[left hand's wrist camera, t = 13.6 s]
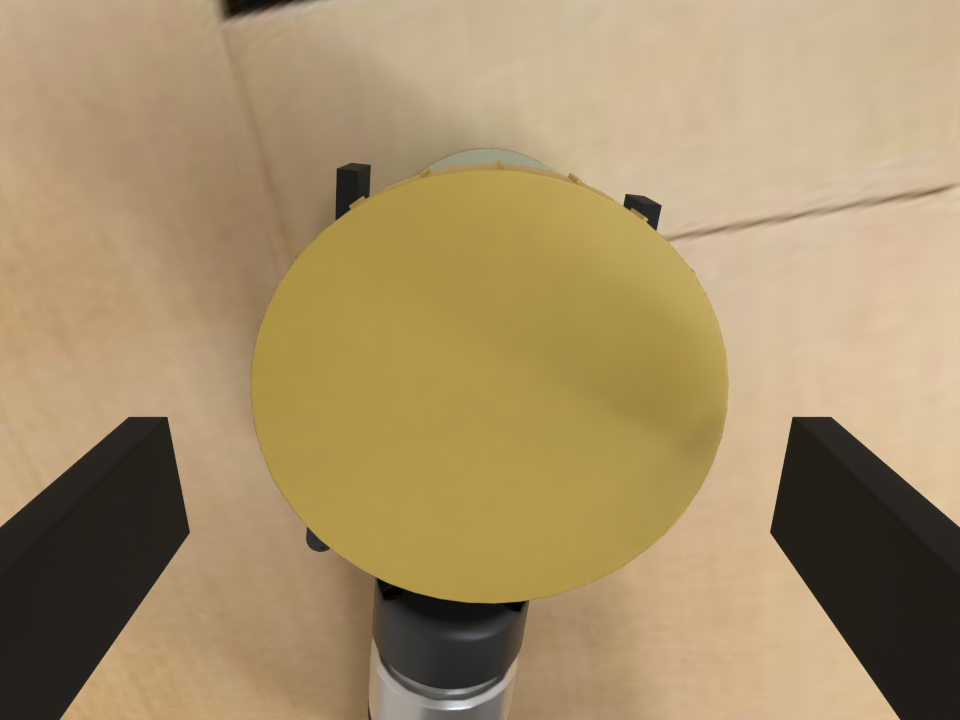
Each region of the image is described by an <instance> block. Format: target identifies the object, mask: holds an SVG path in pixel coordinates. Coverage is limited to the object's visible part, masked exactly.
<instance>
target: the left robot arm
mask: <svg viewBox="0 0 960 720" xmlns="http://www.w3.org/2000/svg"><path fill="white" fill-rule="evenodd" d="M189 533H190V531H189V526H188V520H187V515H186V510H185V505H184V500H183V495H182V490H181V485H180V479H179V474H178V469H177V464H176V459H175V454H174V449H173V444H172V438H171V433H170V428H169V423H168V418H167V417H128V418H127V419H126V420H125V421H124V422H123V423H121V424H120V425H119V426H118V427H117V428H116V429H114V430H113V431H112V432H111V433H110V434H109V435H107V436H106V437H105V438H104V439H103V440H102V441H100V442H99V443H98V444H97V445H96V446H95V447H93V448H92V449H91V450H90V451H89V452H88V453H86V454H85V455H84V456H83V457H82V458H81V459H79V460H78V461H77V462H76V463H75V464H74V465H72V466H71V467H70V468H69V469H68V470H67V471H65V472H64V473H63V474H62V475H61V476H60V477H58V478H57V479H56V480H55V481H54V482H53V483H51V484H50V485H49V486H48V487H47V488H46V489H45V490H43V491H42V492H41V493H40V494H39V495H38V496H36V497H35V498H34V499H33V500H32V501H31V502H29V503H28V504H27V505H26V506H25V507H24V508H22V509H21V510H20V511H19V512H18V513H17V514H15V515H14V516H13V517H12V518H11V519H10V520H8V521H7V522H6V523H5V524H4V525H3V526H1V527H0V720H60V719H61V717H62V716H63V714H64V713H65V711H66V710H67V709H68V707H69V706H70V704H71V703H72V701H73V700H74V698H75V697H76V696H77V694H78V693H79V691H80V690H81V688H82V687H83V686H84V684H85V683H86V681H87V680H88V678H89V677H90V675H91V674H92V673H93V671H94V670H95V668H96V667H97V665H98V664H99V663H100V661H101V660H102V658H103V657H104V655H105V654H106V652H107V651H108V650H109V648H110V647H111V645H112V644H113V642H114V641H115V640H116V638H117V637H118V635H119V634H120V632H121V631H122V629H123V628H124V627H125V625H126V624H127V622H128V621H129V619H130V618H131V617H132V615H133V614H134V612H135V611H136V609H137V608H138V606H139V605H140V604H141V602H142V601H143V599H144V598H145V596H146V595H147V594H148V592H149V591H150V589H151V588H152V586H153V585H154V583H155V582H156V581H157V579H158V578H159V576H160V575H161V573H162V572H163V571H164V569H165V568H166V566H167V565H168V563H169V562H170V560H171V559H172V558H173V556H174V555H175V553H176V552H177V550H178V549H179V548H180V546H181V545H182V543H183V542H184V540H185V539H186V537H187V536H188V535H189ZM770 533H771V535H772V536H773V537H774V539H775V540H776V542H777V543H778V545H779V546H780V548H781V549H782V550H783V552H784V553H785V555H786V556H787V558H788V559H789V560H790V562H791V563H792V565H793V566H794V568H795V569H796V571H797V572H798V573H799V575H800V576H801V578H802V579H803V581H804V582H805V583H806V585H807V586H808V588H809V589H810V591H811V592H812V594H813V595H814V596H815V598H816V599H817V601H818V602H819V604H820V605H821V606H822V608H823V609H824V611H825V612H826V614H827V615H828V617H829V618H830V619H831V621H832V622H833V624H834V625H835V627H836V628H837V629H838V631H839V632H840V634H841V635H842V637H843V638H844V640H845V641H846V642H847V644H848V645H849V647H850V648H851V650H852V651H853V652H854V654H855V655H856V657H857V658H858V660H859V661H860V663H861V664H862V665H863V667H864V668H865V670H866V671H867V673H868V674H869V675H870V677H871V678H872V680H873V681H874V683H875V684H876V686H877V687H878V688H879V690H880V691H881V693H882V694H883V696H884V697H885V698H886V700H887V701H888V703H889V704H890V706H891V707H892V709H893V710H894V711H895V713H896V714H897V716H898V717H899V719H900V720H960V527H959V526H957V525H956V524H955V523H954V522H953V521H952V520H950V519H949V518H948V517H947V516H946V515H945V514H943V513H942V512H941V511H940V510H939V509H938V508H936V507H935V506H934V505H933V504H932V503H931V502H929V501H928V500H927V499H926V498H925V497H924V496H922V495H921V494H920V493H919V492H918V491H917V490H915V489H914V488H913V487H912V486H911V485H910V484H909V483H907V482H906V481H905V480H904V479H903V478H902V477H900V476H899V475H898V474H897V473H896V472H895V471H893V470H892V469H891V468H890V467H889V466H888V465H886V464H885V463H884V462H883V461H882V460H881V459H879V458H878V457H877V456H876V455H875V454H874V453H872V452H871V451H870V450H869V449H868V448H867V447H865V446H864V445H863V444H862V443H861V442H860V441H858V440H857V439H856V438H855V437H854V436H853V435H851V434H850V433H849V432H848V431H847V430H846V429H844V428H843V427H842V426H841V425H840V424H839V423H837V422H836V421H835V420H834V419H833V418H832V417H793V418H792V423H791V428H790V433H789V438H788V444H787V449H786V454H785V459H784V464H783V469H782V474H781V479H780V485H779V490H778V495H777V500H776V505H775V510H774V515H773V520H772V526H771V531H770Z"/></svg>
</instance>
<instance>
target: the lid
mask: <svg viewBox="0 0 960 720" xmlns="http://www.w3.org/2000/svg"><path fill="white" fill-rule="evenodd" d="M349 207H350V209H351V210H350V211H348V212H347V213H346V214H344V215H343V216H342V217H340V218H339V219H338V220H336V221H335V222H334V223H333V224H331V225H330V226H329V227H327V228H326V229H325V230H323V231H322V232H321V233H320V234H319V235H318V236H317V237H316V238H315V239H314V240H313V241H312V243H311V244H310V245H308V246H307V247H306V248H304V249H303V250H302V251H300V252H299V253H298V254H297V255H296V256H295V257H296V258H297V259H296V260H295V262H294V263H293V265H292V266H291V267H290V269H289V270H288V271H287V273H286V274H285V276H284V277H283V278H282V280H281V281H280V283H279V285H278V287H277V289H276V291H275V293H274V295H273V297H272V299H271V301H270V303H269V305H268V306H267V309H266V312H265V315H264V317H263V320H262V323H261V326H260V329H259V332H258V335H257V339H256V345H255V350H254V355H253V361H252V371H251V401H252V410H253V420H254V425H255V429H256V433H257V437H258V441H259V445H260V449H261V451H262V454H263V456H264V459H265V461H266V463H267V466H268V468H269V471H270V473H271V475H272V477H273V479H274V481H275V482H276V484H277V486H278V488H279V489H280V491H281V493H282V495H283V496H284V498H285V500H286V501H287V502H288V504H289V505H290V506H291V507H292V509H293V510H294V511H295V513H296V514H297V515H298V517H299V518H300V519H301V521H302V522H303V523H304V524H305V525H306V526H307V527H308V528H309V529H310V530H311V531H312V532H313V533H314V534H315V535H316V536H317V537H318V538H319V539H320V540H321V541H322V542H324V543H325V544H326V545H327V546H329V547H330V548H331V549H332V550H333V551H335V552H336V553H337V554H338V555H340V556H341V557H342V558H344V559H346V560H347V561H349V562H350V563H352V564H353V565H355V566H357V567H358V568H360V569H361V570H363V571H365V572H367V573H369V574H371V575H373V576H375V577H377V578H379V579H381V580H383V581H385V582H387V583H389V584H392V585H395V586H398V587H400V588H403V589H406V590H409V591H412V592H415V593H419V594H423V595H427V596H431V597H435V598H439V599H445V600H453V601H460V602H468V603H506V602H520V601H526V600H532V599H538V598H543V597H549V596H552V595H556V594H559V593H563V592H566V591H570V590H573V589H576V588H578V587H581V586H583V585H586V584H588V583H591V582H593V581H595V580H598V579H600V578H602V577H604V576H606V575H608V574H609V573H611V572H613V571H615V570H617V569H619V568H620V567H622V566H624V565H625V564H627V563H628V562H630V561H631V560H633V559H634V558H635V557H637V556H638V555H640V554H641V553H643V552H644V551H645V550H647V549H648V548H649V547H650V546H651V545H652V544H653V543H655V542H656V541H657V540H658V539H659V538H660V537H661V536H662V535H664V534H665V533H666V532H667V531H668V530H669V529H670V527H671V526H672V525H673V524H674V523H675V522H676V521H677V519H678V518H679V517H680V516H681V515H682V514H683V513H684V512H685V510H686V509H687V507H688V506H689V504H690V503H691V501H692V500H693V498H694V497H695V495H696V494H697V492H698V491H699V490H700V488H701V486H702V484H703V482H704V480H705V478H706V476H707V474H708V472H709V470H710V468H711V466H712V464H713V461H714V458H715V455H716V452H717V449H718V447H719V444H720V441H721V438H722V433H723V428H724V423H725V417H726V412H727V400H728V372H727V362H726V352H725V348H724V344H723V340H722V336H721V332H720V328H719V324H718V321H717V319H716V316H715V314H714V312H713V309H712V307H711V304H710V302H709V300H708V297H707V295H706V293H705V292H704V290H703V288H702V287H701V285H700V283H699V282H698V280H697V278H696V277H695V275H696V274H695V272H694V271H693V270H692V269H691V268H690V267H689V266H688V265H687V264H686V262H685V261H684V260H683V259H682V258H681V256H680V255H679V254H678V253H677V252H676V250H675V249H674V248H673V247H672V246H671V244H670V243H669V242H668V241H667V240H665V239H664V238H663V237H662V236H661V235H660V234H659V233H658V232H657V231H655V230H654V229H653V228H652V227H651V226H650V225H649V224H648V223H647V221H648V219H647V218H646V217H645V216H643V215H642V214H640V213H639V212H637V211H636V210H634V209H633V208H632V209H631V210H628V209H627V208H625V207H624V206H622V205H621V204H619V203H618V202H616V201H615V200H613V199H612V198H610V197H609V196H607V195H606V194H604V193H603V192H601V191H599V190H597V189H595V188H592V187H590V186H588V185H586V184H584V183H582V180H580V179H579V178H578V177H576V176H575V175H573V174H569V177H567V176H564V175H561V174H558V173H555V172H551V171H548V170H545V169H540V168H534V167H528V166H523V165H517V164H504V163H503V160H502V159H498V163H475V164H465V165H455V166H448V167H444V168H440V169H436V170H432V171H430V168H429V167H427V168H425V169H424V170H423V171H422V172H421V173H419V174H417V175H414V176H412V177H409V178H407V179H404V180H402V181H399V182H396V183H394V184H391V185H389V186H388V187H386V188H384V189H382V190H381V191H379V192H377V193H375V194H373V195H372V196H370V197H368V198H366V199H365V198H364V196H363V197H361V198H360V199H358V200H357V201H355V202H354V203H352V204H351V205H350V206H349Z"/></svg>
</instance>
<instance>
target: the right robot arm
mask: <svg viewBox="0 0 960 720" xmlns="http://www.w3.org/2000/svg"><path fill="white" fill-rule="evenodd" d="M370 169H371V165H366V164H357V163H350V164H348V165H345V166H343V167H340V168H337V183H336V220H338V219H339V218H340V217H342V216H343V215H344V214H346V213H347V212H348V211H350V210H351V209H350V207H349V206H350V205H351V204H352V203H354V202H355V201H357V200H358V199H360V198H361V197H363V196H364V198H365V199H366V198H368V197H369V192H370ZM661 206H662V205H660V204H658V203H656V202H654V201H652V200H651V199H649V198H647V197H645V196H639V195H630V194H626V195H625V201H624V207H625V208H627V209H628V210H631V209H632V208H633V209H634V210H636V211H637V212H639V213H640V214H642V215H643V216H645V217H646V218H647V219H648V221H647V223H648V224H649V225H650V226H651V227H652V228H653V229H654V230H655V231H656V230H657V225H658V220H659V216H660V211H661ZM306 540H307V544H308V546H309V547H310V548H311V549H313V550H315V551H318V552H324V551H327V550H329V549H330V547H329V546H327V545H326V544H325V543H324V542H322V541H321V540H320V539H319V538H318V537H317V536H316V535H315V534H314V533H313V532H312V531H311V530H310V529H309V528H308V527H307V536H306ZM528 604H529V600H526V601H520V602H506V603H468V602H460V601H453V600H445V599H439V598H435V597H431V596H427V595H423V594H419V593H415V592H412V591H409V590H406V589H403V588H400V587H398V586H395V585H392V584H389V583H387V582H385V581H383V580H381V579H379V578H377V577H375V592H374V609H373V625H372V626H373V638H372V643H371V657H370V678H369V700H368V720H508V716H509V712H510V708H511V703H512V698H513V692H514V686H515V681H516V675H517V670H518V664H519V651H520V648H521V645H522V639H523V633H524V627H525V622H526V616H527V610H528Z"/></svg>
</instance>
